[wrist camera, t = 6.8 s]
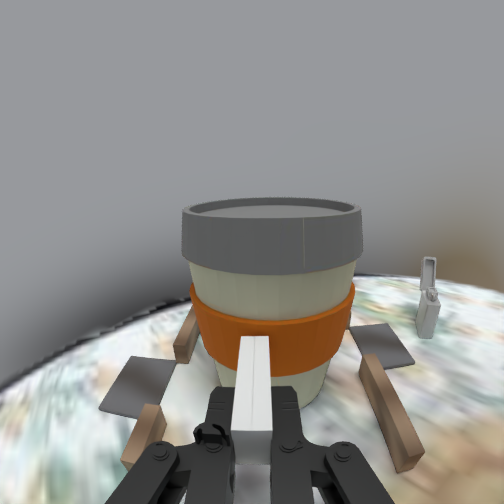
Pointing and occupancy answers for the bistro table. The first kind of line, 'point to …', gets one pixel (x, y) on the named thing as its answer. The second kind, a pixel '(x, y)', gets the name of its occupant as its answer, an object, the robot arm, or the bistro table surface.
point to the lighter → (427, 300)
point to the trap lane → (159, 370)
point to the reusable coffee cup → (273, 282)
